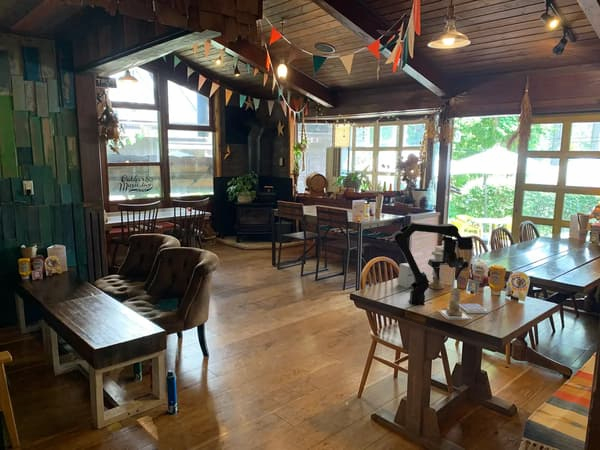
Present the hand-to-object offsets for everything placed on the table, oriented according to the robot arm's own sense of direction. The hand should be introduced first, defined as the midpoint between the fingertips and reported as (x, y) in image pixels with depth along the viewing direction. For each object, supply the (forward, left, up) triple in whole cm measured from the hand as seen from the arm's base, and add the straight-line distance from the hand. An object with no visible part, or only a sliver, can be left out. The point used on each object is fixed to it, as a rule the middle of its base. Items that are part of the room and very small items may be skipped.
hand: (446, 279), depth 220 cm
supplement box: (-9, +32, -13) cm, 36 cm away
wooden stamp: (-1, -13, -13) cm, 18 cm away
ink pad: (+11, -7, -13) cm, 18 cm away
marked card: (-1, -14, -13) cm, 19 cm away
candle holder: (+7, +29, -13) cm, 33 cm away
